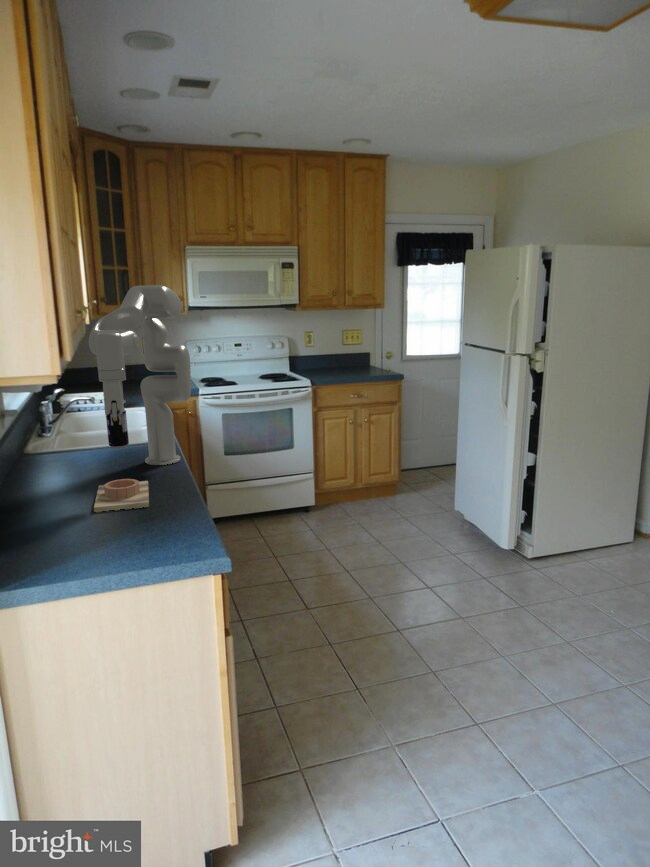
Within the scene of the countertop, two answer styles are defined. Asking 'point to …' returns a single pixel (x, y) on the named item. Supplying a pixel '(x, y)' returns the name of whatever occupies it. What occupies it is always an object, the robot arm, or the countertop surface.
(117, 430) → the robot arm
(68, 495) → the countertop surface
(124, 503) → the base board
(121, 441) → the beverage can
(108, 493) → the segmented ring
